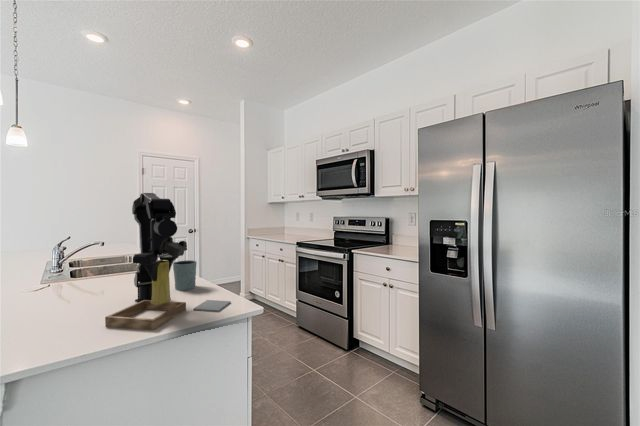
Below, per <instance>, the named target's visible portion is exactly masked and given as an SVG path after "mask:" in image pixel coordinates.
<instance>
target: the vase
mask: <svg viewBox="0 0 640 426" xmlns="http://www.w3.org/2000/svg"><path fill="white" fill-rule="evenodd" d="M158 261H159V262H161V263H160V264H159V265H158V271H157V281H153V280H152V299H151V303H152V304H164V303H168V302H169V301H171V291H170V290H171V289H170V287H171V285H170V272H169V261H168V260H160V259H158Z"/></svg>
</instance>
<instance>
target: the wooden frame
mask: <svg viewBox="0 0 640 426" xmlns="http://www.w3.org/2000/svg"><path fill="white" fill-rule="evenodd" d="M143 310H157V311H158V310H160V311H164V312H163V313H161V314H159V315H157V316H155V317H154V318H143V317H130V316H133V315H135V314H137V313H138V312H141V311H143ZM186 311H187V302H185V301H171V300H170V301H169V302H168V303H164V304H152V303H151V300H143V301H140V302H136V303H134V304H131V305H130V306H127V307H125V308H123V309H121V310H118V311H115V312H113V313H111V314H108V315H107V316H105V320H104V321H105V323H104V324H105V327H108V328H109V327H110V328H111V327H112V328H122V329H123V328H125V329H137V330H138V329H139V330H152V331H154V330H156V329H157V328H159V327H161V326H162V325H164V324H166V323H167V322H169V321H171V320H172V319H174V318H176V317H178V316H180V315H181V314H182V313H184V312H186Z"/></svg>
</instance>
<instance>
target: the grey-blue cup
mask: <svg viewBox="0 0 640 426" xmlns="http://www.w3.org/2000/svg"><path fill="white" fill-rule="evenodd" d="M172 268H173V277H174V288H175V290H176V291H190V290H193V289H195V288H196V275H197V260H191V259H190V260H177V261H175V262H174V261H173V263H172Z"/></svg>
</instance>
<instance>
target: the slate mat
mask: <svg viewBox="0 0 640 426" xmlns="http://www.w3.org/2000/svg"><path fill="white" fill-rule="evenodd" d="M230 304H231V301H230V300H218V299H217V300H214V299H206V300H204V301H203V302H201V303H199V304H198V305H197V306H195V307H193V309H192V311H198V312H199V311H200V312H214V313H216V312H217V313H218V312H221V310H223V309H224V308H225V307H227V306H228V305H230Z"/></svg>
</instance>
